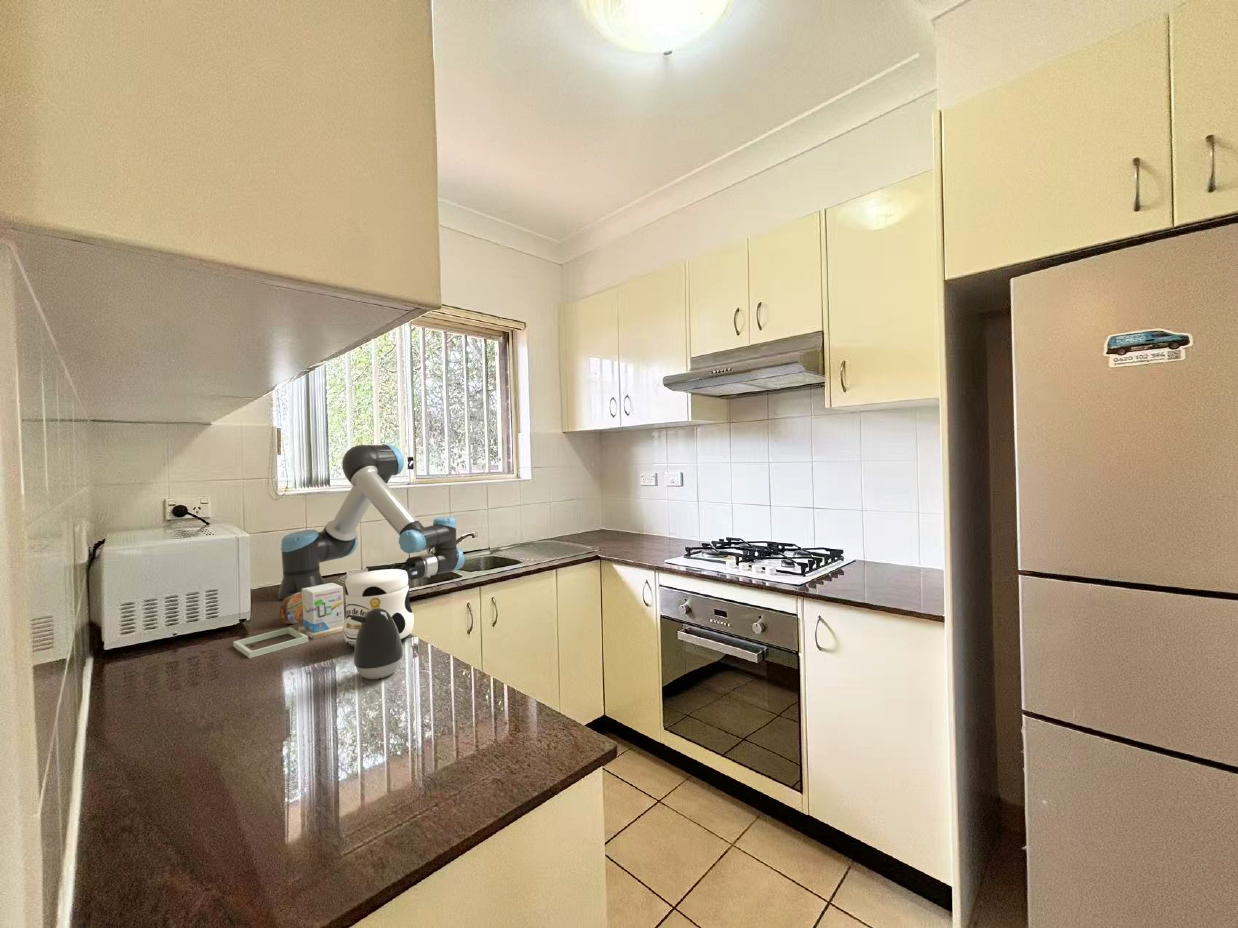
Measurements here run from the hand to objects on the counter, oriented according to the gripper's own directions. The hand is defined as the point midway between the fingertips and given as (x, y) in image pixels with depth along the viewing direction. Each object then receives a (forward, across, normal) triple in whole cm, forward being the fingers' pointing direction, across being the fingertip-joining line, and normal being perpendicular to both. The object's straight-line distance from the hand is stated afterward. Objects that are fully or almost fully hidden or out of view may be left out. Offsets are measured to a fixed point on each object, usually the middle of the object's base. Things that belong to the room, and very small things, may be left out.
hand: (356, 579), depth 158 cm
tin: (+11, +16, -13) cm, 24 cm away
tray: (+24, -2, -12) cm, 27 cm away
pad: (+10, -2, -12) cm, 16 cm away
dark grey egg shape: (+15, -46, -12) cm, 50 cm away
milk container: (+5, -25, -12) cm, 29 cm away
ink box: (+10, -1, -12) cm, 15 cm away
